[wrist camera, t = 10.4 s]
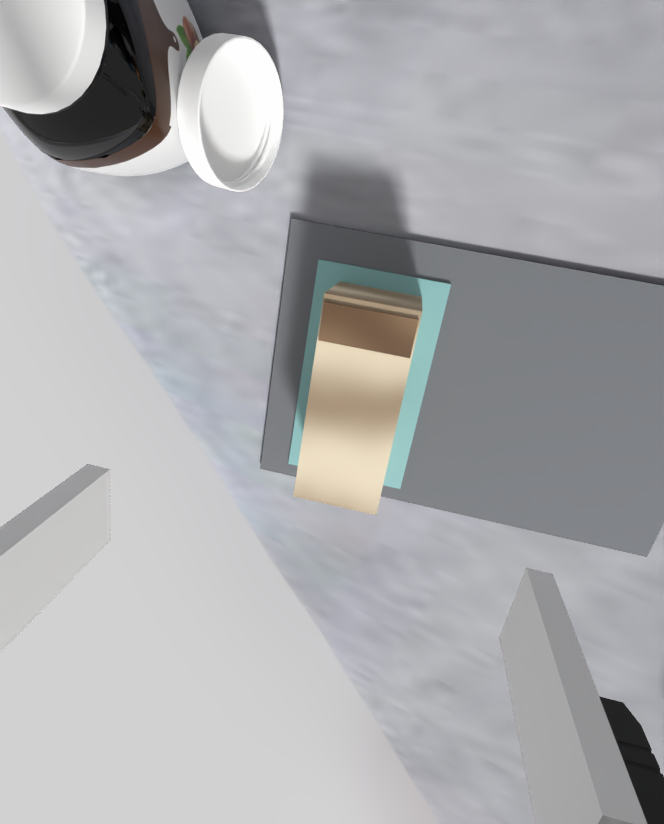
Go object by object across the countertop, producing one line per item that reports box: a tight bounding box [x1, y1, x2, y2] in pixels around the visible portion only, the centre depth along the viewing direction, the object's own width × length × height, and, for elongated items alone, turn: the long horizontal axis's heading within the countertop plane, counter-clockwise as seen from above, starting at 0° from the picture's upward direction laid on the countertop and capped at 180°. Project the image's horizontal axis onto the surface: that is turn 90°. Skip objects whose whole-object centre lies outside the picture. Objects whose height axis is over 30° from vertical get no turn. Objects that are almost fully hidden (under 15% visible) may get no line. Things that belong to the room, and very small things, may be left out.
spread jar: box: [0, 0, 284, 192], centre depth 23 cm, size 12×11×12 cm
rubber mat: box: [260, 219, 664, 557], centre depth 32 cm, size 17×27×1 cm, turn 81°
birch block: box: [293, 282, 423, 515], centre depth 30 cm, size 12×5×6 cm, turn 171°
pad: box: [288, 259, 451, 489], centre depth 32 cm, size 14×8×1 cm, turn 171°
